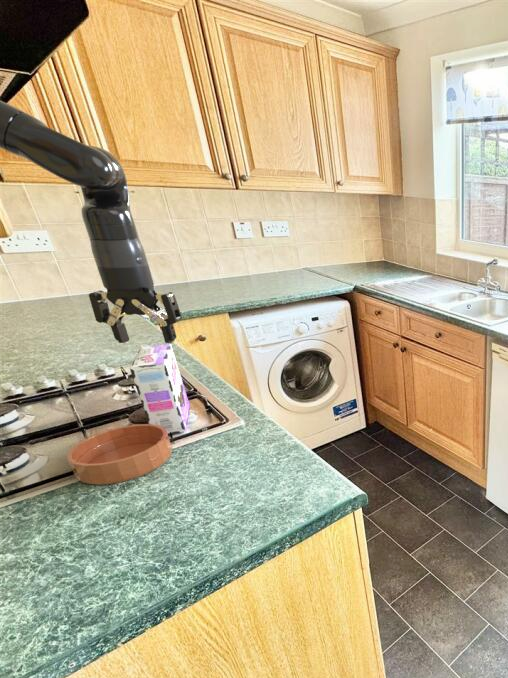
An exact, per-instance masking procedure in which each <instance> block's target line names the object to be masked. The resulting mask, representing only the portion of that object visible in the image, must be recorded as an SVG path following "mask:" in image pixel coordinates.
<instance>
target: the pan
mask: <svg viewBox="0 0 508 678" xmlns="http://www.w3.org/2000/svg"><path fill="white" fill-rule="evenodd" d="M172 453H173V446H172V443H171V439H170V438H169V435H168V434H167V432H166V430H165V428H163V427H161V426H158V425H151V424H149V423H146V424H145V423H144V424H140V423H139V424H132V425H123V426H120V427H115V428H111V429H107V430H104V431H102V432H99V433H97V434H93V435H91V436H89V437H87V438H85V439H83V440H80V442H78V443H77V444H75V445H74V446H73V447H71V448H70V450H69V451H68V453H67V454H66V458H67V462H68V464H69V467H70V469H71V471H72V473H73V475H74V477H75V479H77V480H78V481H80V482H81V483H85V484H88V485H95V486H101V485H102V486H103V485H112V484H118V483H123V482H127V481H130V480H134V479H136V478H139V477H142V476H144V475H147V474H149V473H151V472H152V471H155V470H157V469H158V468H160V467H161V466H162V465H164V464H165V463H166V462H167V461H168V460H169V459H170V456H171V455H172Z"/></svg>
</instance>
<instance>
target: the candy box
mask: <svg viewBox="0 0 508 678" xmlns="http://www.w3.org/2000/svg"><path fill="white" fill-rule="evenodd" d="M129 371H130V373H131V377H132V379H133V383H134V386H135V388H136V389H135V390H136V391H137V394H138V397H139V400H140V403H141V406H142V409H143V411H144V414H145V417H146V420H147V424H151V425H158V426H161V427H163V428H165V430H166V432H167V434H168V436H169V434H170V432H171V433H172V434H170V435H175V434H182V433H185V432H187V428H188V427H187V426H188V420H189V414H190V408H191V405H190V401H189V398H188V395H187V391H186V388H185V384H184V382H183V378H182V375H181V372H180V369H179V366H178V362H177V359H176V356H175V352H174V349H173V346H172V343H165V344H157V345H155V344H154V345H147V346H140V347H139V350H138V352H137V354H136V356H135V357H134V360H133V362H132V364H131V365H130V367H129Z"/></svg>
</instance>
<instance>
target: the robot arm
mask: <svg viewBox="0 0 508 678" xmlns="http://www.w3.org/2000/svg"><path fill="white" fill-rule="evenodd" d="M0 149H1V150H4V151H6V152H8V153H10V154H13V155H15V156H18V157H21V158H23V159H25V160H28V161H29V162H31V163H33V164H34V165H36V166H38V167H40V168H41V169H43V170H45V171H47V172H49V173H50V174H53V175H54V176H56V177H58V178H60V179H62V180H64V181H66V182H68V183H71V184H73V185H76V186H78V187H80V189H81V193H82V197H83V202H84V203H83V205H82V206H81V210H80V213H81V218H82V221H83V224H84V226H85V229H86V232H87V236H88V238H89V242H90V248H91V254H92V256H93V259H94V263H95V264H96V268H97V271H98V273H99V276H100V280H101V283H102V285H103V287H104V289H106V290H107V291H103V290H97V291H93V292H90V293H89V294H88V298H89V301H90V304H91V308H92V312H93V316H94V318H95V319H94V320H95V321H96V323H99V324H101V323H103V324H107V325H108V326H110V329H111V332H112V335H113V338H114V339H115V340H116V341H117V342H118V343H119V344H125V343H128V342H129V341H130V336H129V333H128V331H127V328H126V324H125V323H123V320H124V319H125V317H126V316H133V315H138V316H145V315H146V316H147V317H149V318H150V319H151V320H154V321H155V322H157V324H159V325H160V330H161V333H162V336H163V340H164V343H165V344H172V343H173V342H175V340H176V339H177V333H176V329H175V325H174V324H176V323H178V322H180V321H182V320H183V316H182V313H181V310H180V307H179V303H178V301H177V298H176V295H175V294H174V292H173V291H169V292H166V293H157V291H156V289H155V283H154V279H153V276H152V273H151V270H150V266H149V262H148V259H147V255H146V251H145V249H144V247H143V245H142V242H141V240H140V237H139V234H138V231H137V226H136V224H135V220H134V217H133V214H132V211H131V202H130V201H131V200H130V194H129V193H130V191H129V186H128V181H127V177H126V173H125V170H124V168H123V166H122V164H121V163H120V161H119V160H118V158H117V157H115V155H113V154H112V153H111V152H109V151H108V150H106V149H104V148H101V147H98V146H95V145H88V144H85V143H82V142H80V141H78V140H76V139H74V138H71V137H69V136H67V135H65V134H63V133H61V132H59V131H56V130H55V129H52V128H50V127H48V125H47V124H46V123H44V122H43V121H42V120H40V119H38V118H37V117H35V116H33V115H31V114H30V113H27V112H25V111H23V110H21V109H19V108H17V107H15V106H13V105H12V104H9V103H7V102H5V101H3V100H1V99H0ZM158 301H159V302H160V304H161V305H163V307H164V308H163V307H162V306H161V305H160V304H159V303H158ZM108 302H110V303H112V304H113V307H112V309H111V310H110V307H109V304H108Z"/></svg>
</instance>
